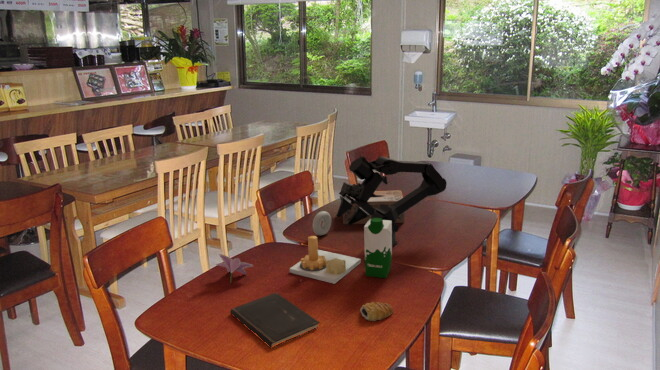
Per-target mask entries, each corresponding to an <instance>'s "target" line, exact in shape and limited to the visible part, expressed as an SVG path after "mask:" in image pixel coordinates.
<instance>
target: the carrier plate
mask: <svg viewBox="0 0 660 370" xmlns="http://www.w3.org/2000/svg"><path fill="white" fill-rule="evenodd" d="M318 255H319V256H322V255H323V256H325V259H326V266H322V267H323V268H321V269H319V268H317V269H314V270H310V269H309V268H305V269H304V268H303V265H301V260H299V262H297V263H296V264H294V265H293V266H291V267H290V268H289V273H291V274H294V275H298V276H301V277H306V278H310V279H314V280H318V281H323V282H326V283H330V284H334V285H335V284H336V283H337V282H339V281H340V280H341V279H343V278H344V277H346V275H348V274H349V273H350V272H351V271H352V270H354V269H355V268H356V267H358V266H359V265H360V264H361V262H362V259H361V258H358V257H353V256H349V255H345V254H341V253H334V252H330V251H327V250H326V251H325V250H321V249H318Z"/></svg>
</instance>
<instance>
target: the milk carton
mask: <svg viewBox="0 0 660 370" xmlns="http://www.w3.org/2000/svg"><path fill="white" fill-rule="evenodd" d="M363 230H364V231H363V234H364V237H363V238H364V239H363V240H364V241H363V243H364V244H363V245H364V247H363V248H364V267H365V277H373V278H381V279H387V278H388V276H389V273H390V271H391V268H392V261H393V259H392V257H393V247H392V221H390V220H383V219H381V218H372V219H370V220H369V221H368V222H367V223H366V224H364V226H363Z"/></svg>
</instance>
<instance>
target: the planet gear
mask: <svg viewBox="0 0 660 370" xmlns="http://www.w3.org/2000/svg"><path fill="white" fill-rule="evenodd" d="M307 242H308V243H307V245H308V248H307V249H308V254H306V255H305V256H304V257H301V259H300V261H301V265H303V268H304V269H305V268H309V269H310V270H314V269H317V268H319V269H321V268H323V267H322V266H326V259H325V256H323V255H322V256H319V255H318V250H319V248H318V247H319V246H318V245H319V244H318V243H319V242H318V236H316V235H310V236H308V237H307Z"/></svg>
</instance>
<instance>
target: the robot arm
mask: <svg viewBox="0 0 660 370" xmlns="http://www.w3.org/2000/svg"><path fill="white" fill-rule="evenodd" d="M348 169H349V171H350V172H351V173H353V175H355V176H356V177H357V178H358V179H359V180H363V181H362V182H361V183H360V182H358V183H353V184H352V183H348V182H345V181H344V182H343V183H342V186H341V188H340V191H339V192H338V195H339V199H340V203H339V207H338V211H337V213H336V215H335V216H336V217H337V218H340V217H343V214H344V213H345V212H347V211H348V210H349V209H350V208H351V207H353V205H351V204H357V205H358V206H359V207H358V206H356V205H355V212H354V214H353V215H352V217H351V218H350V220H349V222H348V224H347V225H348V226H349V227H350V226H351V225H355V224H354V223H356V222H358V221H360V220H362V219H364V218H366V217H370V216H369V215H371V216H372V217H371V219H372V218H381V219H383V220H390V221H392V248H393V247H394V246H395V245H396V244H398V241H397V240H396V239H397V238H396V233H397V232H398V231H399V228H400V225H398V223H395V222H396V220H397V218H398V216H399V215H401V214H402V213H404V214H405V213H406V211H408V210H410V209H411V208H413V207H414V206H415V205H417V204H419V203H420V202H421V201H423V200H425V199H426V198H427V197H431V196H436V195H439V194H440V193H443V192H444V191H446V189H447V183H448V182H447V180H446V179H445V178H444V177H442V174H441V173H440V172H438V171H437V170H436V168H435V167H434V166H433V164H432V163H430V162H428V161H408V160H397V159H393V158H390V157H386V156H382V155H381V156H378V157H377V158H376V159H375V160H371V161H368V160H367V158H366V157H364V156H363V155H360V157H358V158H356V159H355V160H353V161H352V162H351V163H350V165H349V168H348ZM398 173H419V174H420V173H421V176H422V178H423V179H422V181H421V183H420V185H419V186H418V187H417V188H415V189H414V190H412V191H411V192H409V193H407V194H406V195H405V196H403V198H402V199H400V200H399V201H397V202H396V203H394V204H393V205H391V206H387V205H385V204H383V205H381V206H380V207H379V208H376V209H375V208H374V207H372V206H371V205H370V204H369V203H368V202H367V201H368V200H369V199H370V197H371V196H373V197H374V196H375V194H374V192H375V191H377V190H378V188H379V187H380V186H381V185H382V184H385V185H388V177H387V176H391V175H396V174H398ZM382 174H383V175H382ZM350 203H351V204H350Z"/></svg>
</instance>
